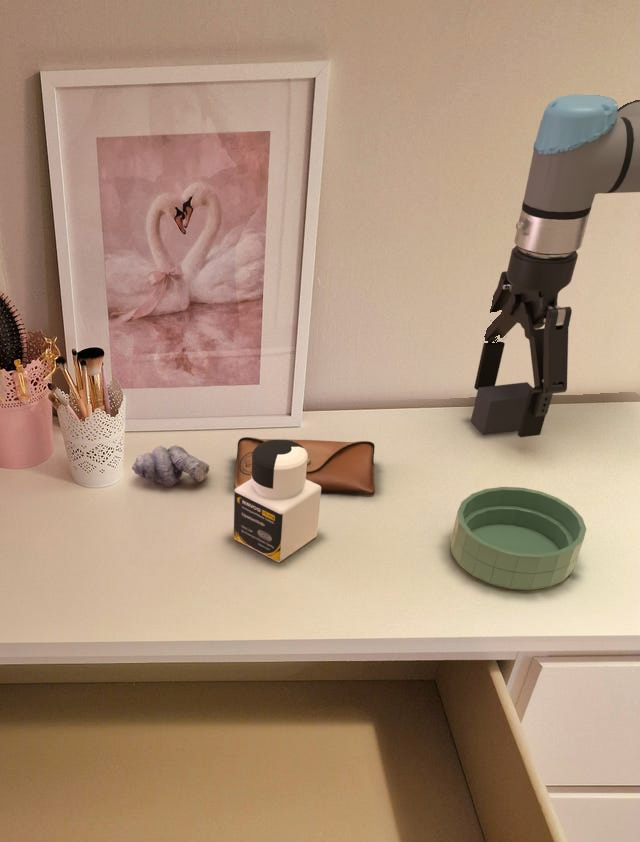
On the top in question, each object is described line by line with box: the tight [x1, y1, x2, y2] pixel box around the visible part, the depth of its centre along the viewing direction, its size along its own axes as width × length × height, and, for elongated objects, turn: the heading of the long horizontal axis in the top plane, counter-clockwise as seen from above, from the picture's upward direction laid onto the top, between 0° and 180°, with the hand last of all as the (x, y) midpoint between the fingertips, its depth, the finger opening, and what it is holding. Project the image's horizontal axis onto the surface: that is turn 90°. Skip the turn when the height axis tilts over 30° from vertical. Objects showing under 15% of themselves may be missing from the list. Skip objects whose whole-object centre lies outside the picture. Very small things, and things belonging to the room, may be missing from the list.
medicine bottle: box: [233, 438, 322, 563], centre depth 99 cm, size 7×7×12 cm
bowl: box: [450, 486, 587, 591], centre depth 97 cm, size 13×13×5 cm
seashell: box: [131, 444, 210, 488], centre depth 111 cm, size 5×5×10 cm
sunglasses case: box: [234, 436, 376, 494], centre depth 111 cm, size 18×7×7 cm
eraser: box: [470, 381, 534, 436], centre depth 118 cm, size 7×4×5 cm, turn 99°
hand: (505, 410), depth 118 cm, fingers open, 13 cm apart
